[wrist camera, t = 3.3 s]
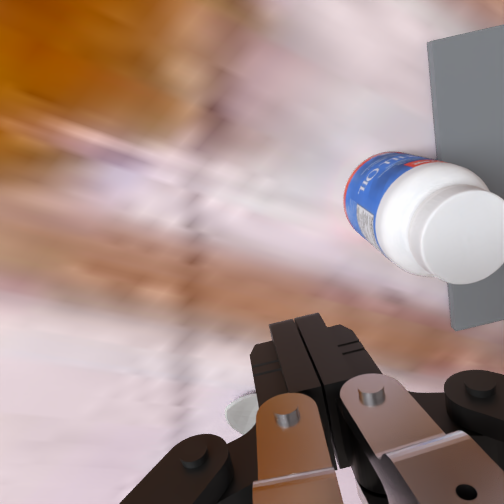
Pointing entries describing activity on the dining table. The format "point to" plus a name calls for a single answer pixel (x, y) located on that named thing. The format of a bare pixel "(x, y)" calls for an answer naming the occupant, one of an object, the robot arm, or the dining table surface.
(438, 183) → the pill bottle
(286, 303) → the dining table surface
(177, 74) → the dining table surface
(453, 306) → the mat
